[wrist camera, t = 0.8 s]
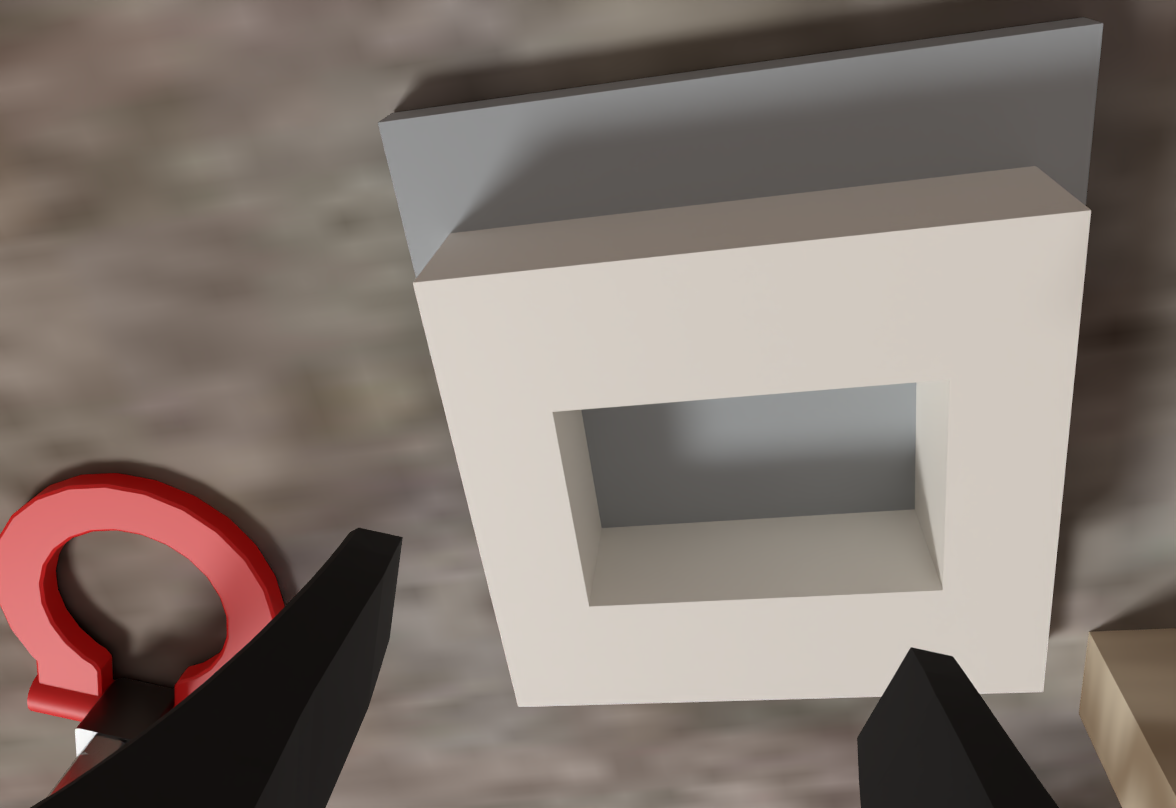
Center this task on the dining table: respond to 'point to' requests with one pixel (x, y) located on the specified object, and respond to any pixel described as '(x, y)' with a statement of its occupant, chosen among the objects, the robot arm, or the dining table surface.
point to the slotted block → (763, 362)
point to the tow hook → (69, 655)
